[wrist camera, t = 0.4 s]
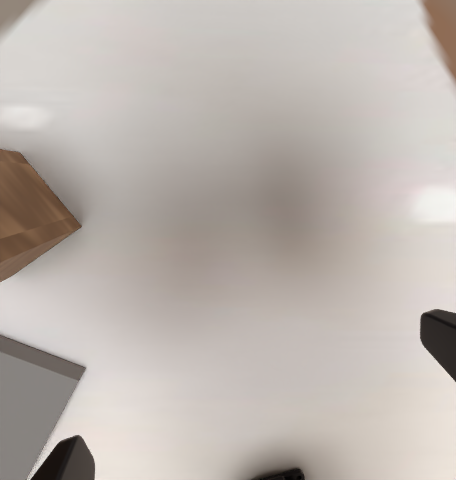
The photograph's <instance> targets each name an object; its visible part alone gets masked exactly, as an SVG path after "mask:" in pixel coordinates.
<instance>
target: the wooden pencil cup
mask: <svg viewBox="0 0 456 480" xmlns="http://www.w3.org/2000/svg"><path fill="white" fill-rule="evenodd" d="M81 227H82V226H81V225H80V224H79V223H78V221H77V220H76V219H75V218H74V217H73V216H72V214H71V213H70V212H69V211H68V210H67V208H66V207H65V206H64V205H63V204H62V202H61V201H60V200H59V199H58V198H57V196H56V195H55V194H54V193H53V192H52V191H51V189H50V188H49V187H48V186H47V185H46V183H45V182H44V181H43V180H42V179H41V177H40V176H39V175H38V174H37V173H36V171H35V170H34V169H33V168H32V167H31V165H30V164H29V163H28V162H27V161H26V160H25V158H24V157H23V156H22V155H21V154H20V152H14V151H8V150H2V149H0V282H2V281H3V280H5V279H7V278H9V277H11V276H12V275H14V274H15V273H17V272H18V271H19V270H21V269H22V268H24V267H25V266H27V265H28V264H29V263H31V262H32V261H34V260H35V259H37V258H38V257H39V256H41V255H42V254H44V253H45V252H47V251H48V250H49V249H51V248H52V247H54V246H55V245H56V244H58V243H59V242H61V241H62V240H64V239H65V238H66V237H68V236H69V235H71V234H72V233H74V232H75V231H76V230H78V229H79V228H81Z"/></svg>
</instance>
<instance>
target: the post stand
mask: <svg viewBox="0 0 456 480" xmlns="http://www.w3.org/2000/svg"><path fill="white" fill-rule="evenodd" d="M84 370H85V368H84V367H82V366H79V365H76V364H74V363H71V362H68V361H66V360H63V359H61V358H58V357H55V356H53V355H50V354H47V353H45V352H42V351H40V350H37V349H34V348H32V347H29V346H27V345H24V344H21V343H19V342H16V341H13V340H11V339H8V338H6V337H3V336H0V480H26V479H27V477H28V475H29V473H30V471H31V469H32V467H33V466H34V464H35V462H36V460H37V458H38V456H39V454H40V452H41V451H42V449H43V447H44V445H45V443H46V441H47V439H48V438H49V436H50V434H51V432H52V430H53V428H54V426H55V424H56V423H57V421H58V419H59V417H60V415H61V413H62V411H63V409H64V408H65V406H66V404H67V402H68V400H69V398H70V396H71V395H72V393H73V391H74V389H75V387H76V385H77V383H78V381H79V380H80V378H81V376H82V374H83V372H84Z"/></svg>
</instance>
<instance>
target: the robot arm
mask: <svg viewBox="0 0 456 480" xmlns="http://www.w3.org/2000/svg"><path fill="white" fill-rule="evenodd" d="M420 339H421V342H422V344H423V345H424V347H425V348H426V349H427V350H428V351H429V353H430V354H431V355H432V356H433V357H434V358H435V359H436V360H437V361H438V363H439V364H440V365H441V366H442V367H443V368H444V369H445V370H446V371H447V373H448V374H449V375H450V376H451V377H452V378H453V379H454V380H455V382H456V313H452V312H448V311H444V310H440V309H434V310H431V311H428V312H425V313H423V314H422V315H421V321H420ZM94 478H95V463H94V458H93V456H92V454H91V452H90V451H89V449H88V447H87V445H86V443H85V442H84V440H83V438H82V437H81V436H79V435H76V436H73V437H70V438H67V439H64V440H62V441H60V442H59V443H58V444H57V445H56V447H55V448H54V449H53V451H52V452H51V453H50V455H49V456H48V457H47V459H46V460H45V461H44V462H43V464H42V465H41V466H40V468H39V469H38V470H37V472H36V473H35V474H34V476H33V477H32V478H31V480H94ZM260 480H305V478H304V475H303V472H302V470H300V469H296V470H293V471H289V472H285V473H282V474H278V475H274V476H271V477H267V478H264V479H260Z"/></svg>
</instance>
